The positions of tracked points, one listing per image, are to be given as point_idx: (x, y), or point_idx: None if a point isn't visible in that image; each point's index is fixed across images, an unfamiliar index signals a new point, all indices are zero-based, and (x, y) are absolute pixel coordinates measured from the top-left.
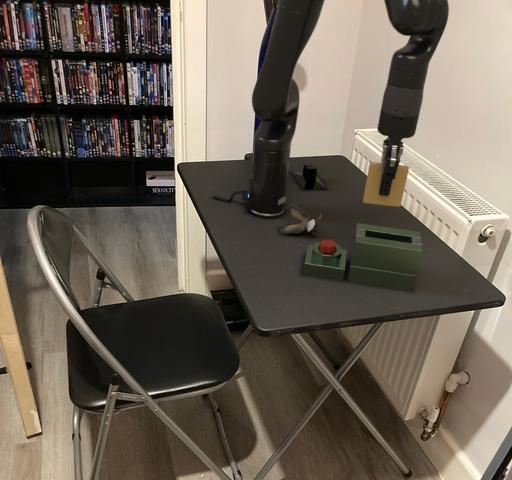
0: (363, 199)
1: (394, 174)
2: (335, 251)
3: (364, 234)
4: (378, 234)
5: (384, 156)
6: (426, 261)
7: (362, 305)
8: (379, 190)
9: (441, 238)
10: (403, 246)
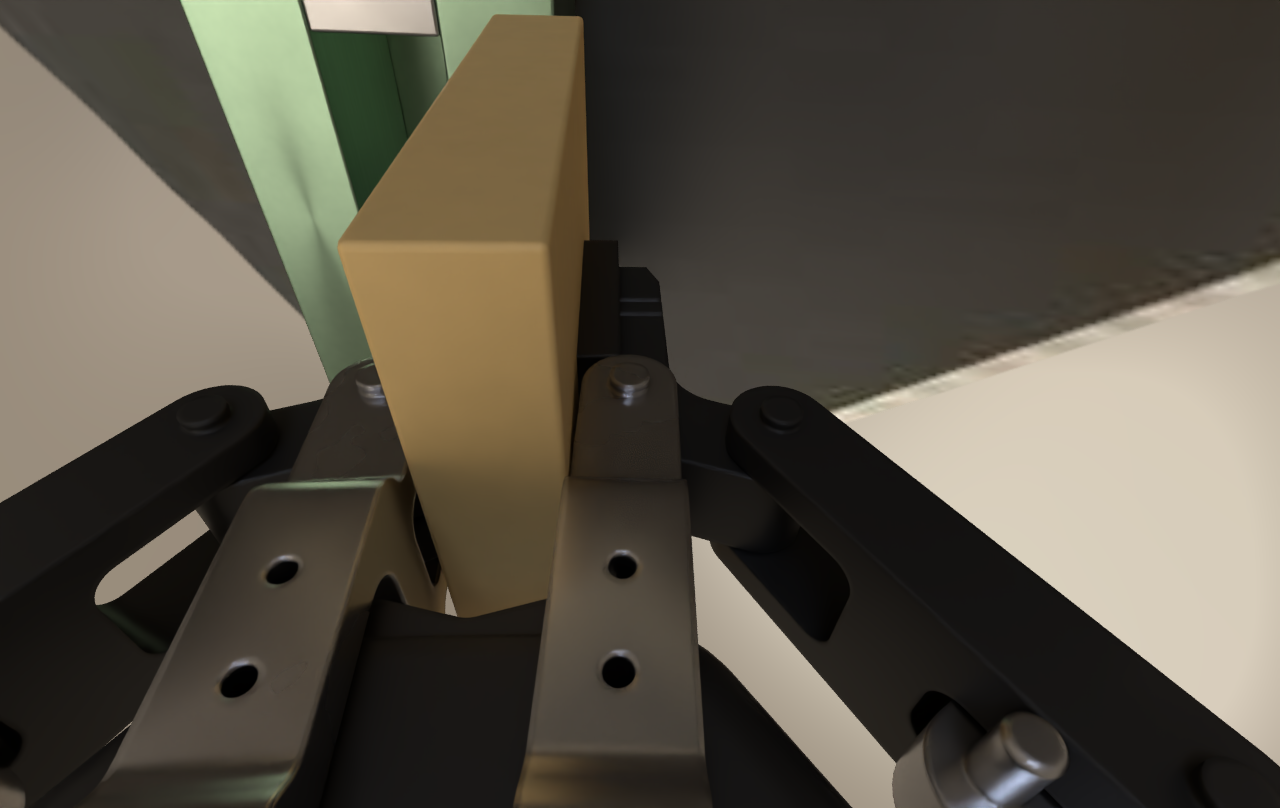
0: (506, 21)
1: (145, 593)
2: None
3: (344, 25)
4: None
5: (164, 714)
6: (688, 331)
7: (106, 2)
8: None
9: (898, 396)
10: (322, 304)
